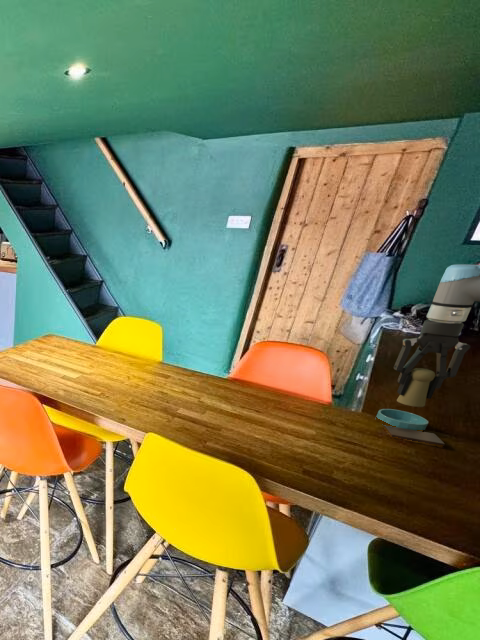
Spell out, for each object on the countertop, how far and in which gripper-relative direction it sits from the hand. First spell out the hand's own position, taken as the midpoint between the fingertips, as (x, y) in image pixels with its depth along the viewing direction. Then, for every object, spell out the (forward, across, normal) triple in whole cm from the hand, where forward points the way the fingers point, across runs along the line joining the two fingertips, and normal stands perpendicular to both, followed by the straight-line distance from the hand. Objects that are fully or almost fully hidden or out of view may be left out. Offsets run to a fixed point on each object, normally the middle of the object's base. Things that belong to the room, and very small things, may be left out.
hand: (413, 395), depth 123 cm
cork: (+3, 0, 0) cm, 3 cm away
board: (+10, 0, -10) cm, 14 cm away
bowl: (+10, 0, 0) cm, 10 cm away
